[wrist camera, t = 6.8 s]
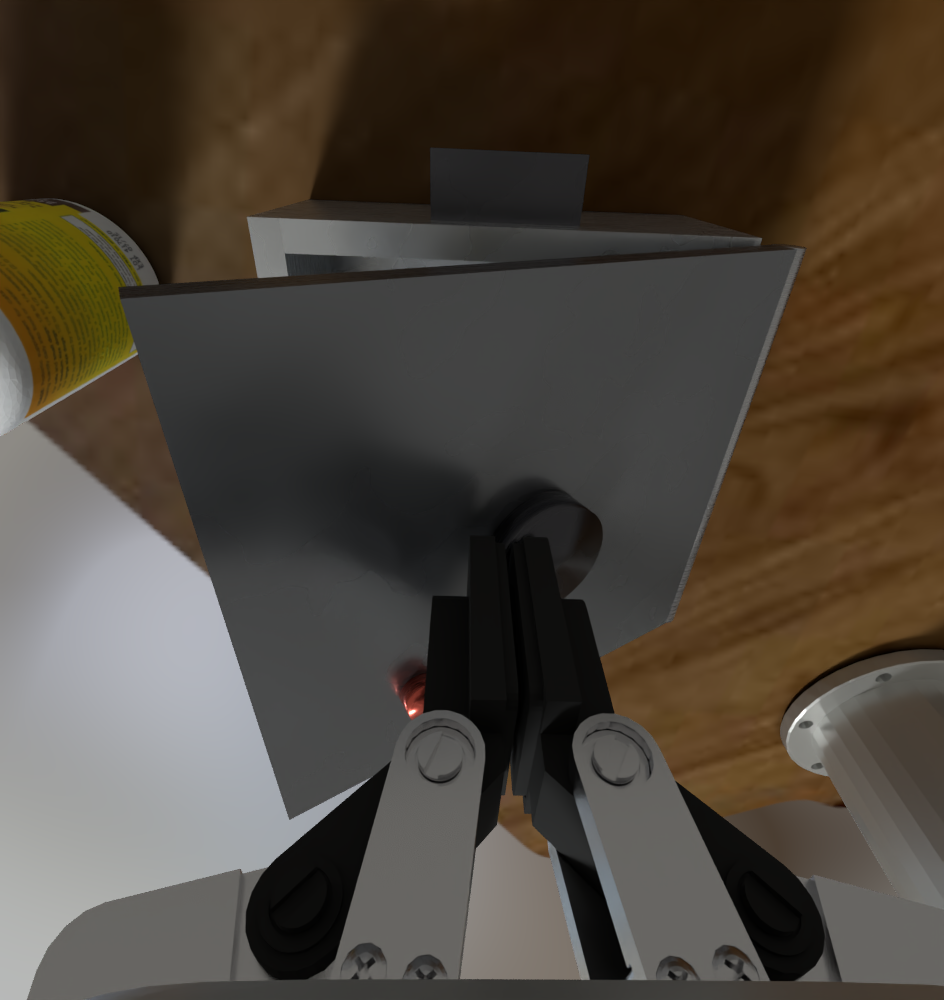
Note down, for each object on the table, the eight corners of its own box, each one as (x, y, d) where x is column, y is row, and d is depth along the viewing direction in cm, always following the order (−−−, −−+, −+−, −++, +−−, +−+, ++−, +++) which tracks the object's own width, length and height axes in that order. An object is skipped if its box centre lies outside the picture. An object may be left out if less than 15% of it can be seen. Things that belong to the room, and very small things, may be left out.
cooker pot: (694, 160, 17) (786, 163, 12) (606, 542, 26) (638, 633, 21) (302, 143, 17) (232, 138, 12) (349, 535, 26) (320, 625, 21)
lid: (782, 243, 13) (844, 253, 12) (662, 604, 20) (694, 630, 19) (118, 286, 7) (122, 314, 6) (282, 793, 14) (297, 850, 13)
